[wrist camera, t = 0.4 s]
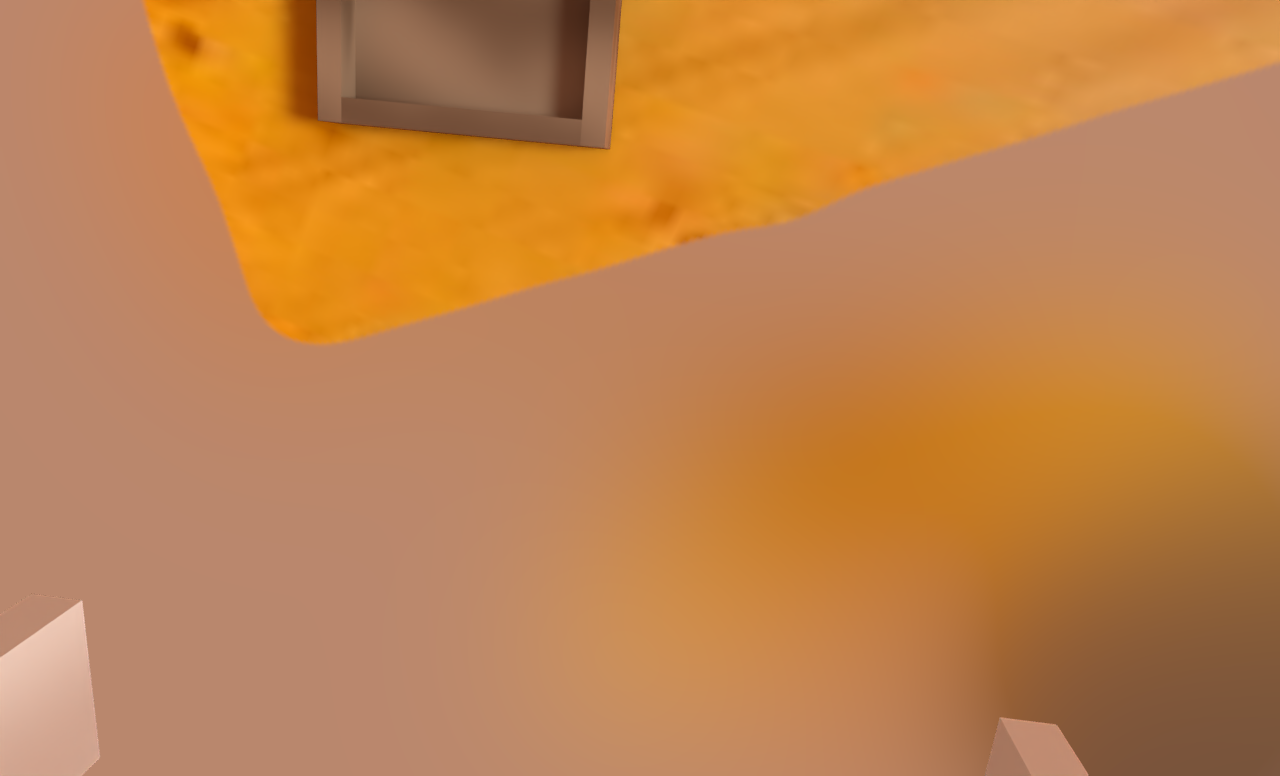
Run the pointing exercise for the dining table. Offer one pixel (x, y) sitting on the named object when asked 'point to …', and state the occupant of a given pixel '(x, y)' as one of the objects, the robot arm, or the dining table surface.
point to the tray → (471, 67)
